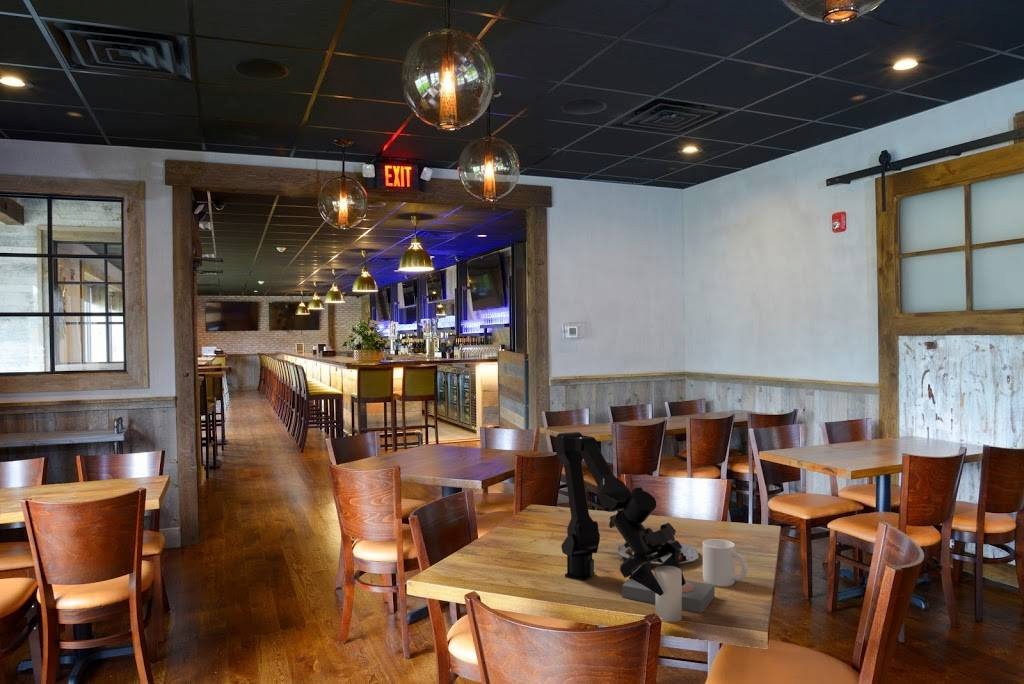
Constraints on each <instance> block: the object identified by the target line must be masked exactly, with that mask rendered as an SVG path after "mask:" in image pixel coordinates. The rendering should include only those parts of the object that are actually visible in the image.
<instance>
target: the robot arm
mask: <svg viewBox="0 0 1024 684" xmlns="http://www.w3.org/2000/svg"><path fill="white" fill-rule="evenodd" d="M553 446H554V449H555V453H556V456H557V458H558V459H559V461H560V462H561V463H562V465H563V466H564V475H565V481H566V487H567V488H566V489H567V496H568V501H569V502H568V504H569V511H570V516H571V517H570V520H569V522H568V525H567V528H566V532H567V536H566V538H565V539H564V540H563V542H562V543H561V545H560V546H561V551H562V553H563V555H565V556H567V557H566V559H567V560H566V563H567V565H566V567H567V568H566V570H567V571H566V573H565V574H564V577H566V578H571V579H577V580H581V581H587V580H589V579H590V578H591V577H592V576H594V575H595V574H596V572H595V559H594V558H593V554H597V553H598V550H599V544H600V540H601V538H600V537H601V534H600V532H599V523H598V522H597V520H595V521H594V520H593V519H592V517H591V516H590V512H589V505H588V498H587V492H586V491H587V490H586V485H585V478H584V472H583V471H584V470H583V464H582V462H583V461H584V462H585V465H586V467H587V469H588V470H589V472H590V474H591V476H592V477H593V480H594V481H595V484H596V486H597V488H598V489H597V494H596V495H597V497H598V500H599V503H600V506H601V508H602V509H603V511H605V512H609V513H611V512H617V513H616V514H614V515H611V516H609V524H608V525H609V526H608V527H609V528H610V529H612V528H614V527H615V528H616V529H617V531H618V532H619V534H620V535H621V537H622V538H623V539H624V541H625V542H626V543H625V544H624V546H625V547H626V548H629V547H630V548H631V550H632V551H633V553H634V554H633V555H631V556H630V557H629V558H627V559H626V558H625V560H624V561H623V562H622V563H621V564H620V565H619V572H620V574H621V575H622V576H623V578H624V579H626V578H628V580H629V579H630V580H631V579H633V580H635V581H636V582H638V583H640V584H642V585H644V586H645V587H647V588H648V589H650V590H652V591H653V592H655V593H656V594H658V595H660V596H661V595H663V594H664V593H663V591H662V589H661V587H660V585H659V583H658V582H657V580H656V578H655V577H654V575H653V574H654V573H653V572H652V565H651V562H652V561H655V560H657V561H658V562H660V563H662V564H661V565H659V566H674V567H677V568H680V569H681V570H682V568H681V564H679V554H680V553H681V549H682V546H681V544H680V543H681V542H680V543H679V540H676V538H675V536H676V529H675V528H674V527H673V525H672V524H671V523H670V522H666V523H663V524H661V525H660V527H659V528H660V529H658V530H655V531H653V530H652V528H650V527H647V528H646V527H645V525H643V523H644V522H645V521H646V520H647V519H648V517H650V516H651V514H652V512H654V511H655V509H656V508H657V501H656V499H655V497H654V496H653V495H652V494H650V493H649V492H648V491H645V490H644V489H643V488H642V486H639V487H638V486H637V487H634V488H633V489H632V491H631V490H630V489H629V488H628V486H627V484H625V482H624V481H622V480H621V479H619V478H617V476H616V475H614V473H613V471H612V469H611V468H610V466H609V465H608V462H607V461H606V459H605V457H604V455H603V454H602V451H601V450H600V448H599V446H598V443H597V439H596V437H594V436H590V435H584V434H582V433H581V432H579V431H573V432H572V431H571V432H561V433H560V432H559V433H558V434H557V435H556V436H555V438H554V440H553ZM664 543H665V544H664ZM662 545H663V546H662ZM648 558H649V559H648ZM685 580H686V579H685V576H684V573H683V572H682V586H683V585H685V584H686V582H685Z"/></svg>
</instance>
